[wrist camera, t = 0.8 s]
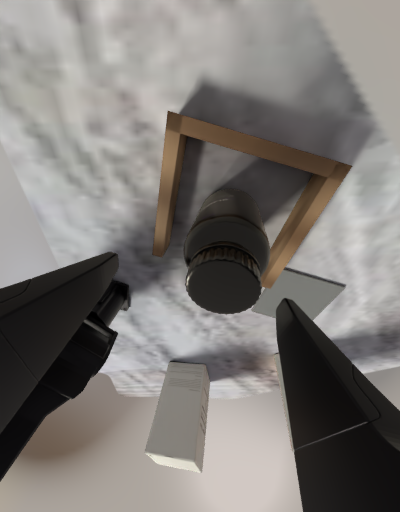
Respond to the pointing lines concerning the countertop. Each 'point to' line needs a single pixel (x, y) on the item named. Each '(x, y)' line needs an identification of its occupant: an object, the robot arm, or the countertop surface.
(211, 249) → the supplement bottle
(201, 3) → the countertop surface
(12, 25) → the countertop surface
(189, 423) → the supplement box
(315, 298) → the slate mat
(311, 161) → the frame
